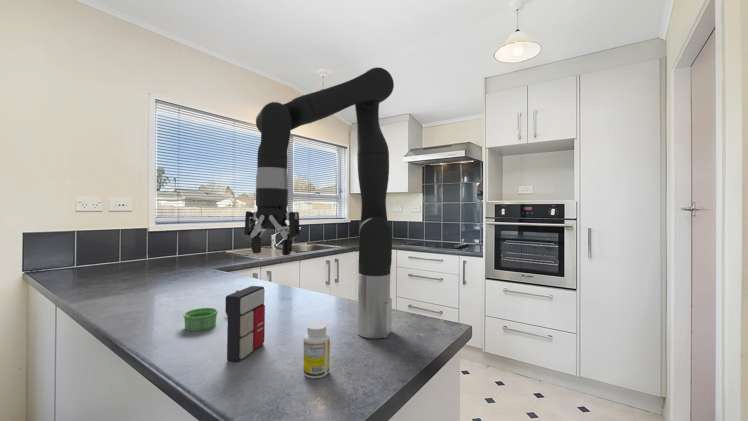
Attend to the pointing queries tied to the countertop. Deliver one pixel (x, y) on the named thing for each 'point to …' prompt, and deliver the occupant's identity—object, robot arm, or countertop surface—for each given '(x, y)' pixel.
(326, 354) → the supplement bottle
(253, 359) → the countertop surface
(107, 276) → the countertop surface
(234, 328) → the calculator
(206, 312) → the ramekin
